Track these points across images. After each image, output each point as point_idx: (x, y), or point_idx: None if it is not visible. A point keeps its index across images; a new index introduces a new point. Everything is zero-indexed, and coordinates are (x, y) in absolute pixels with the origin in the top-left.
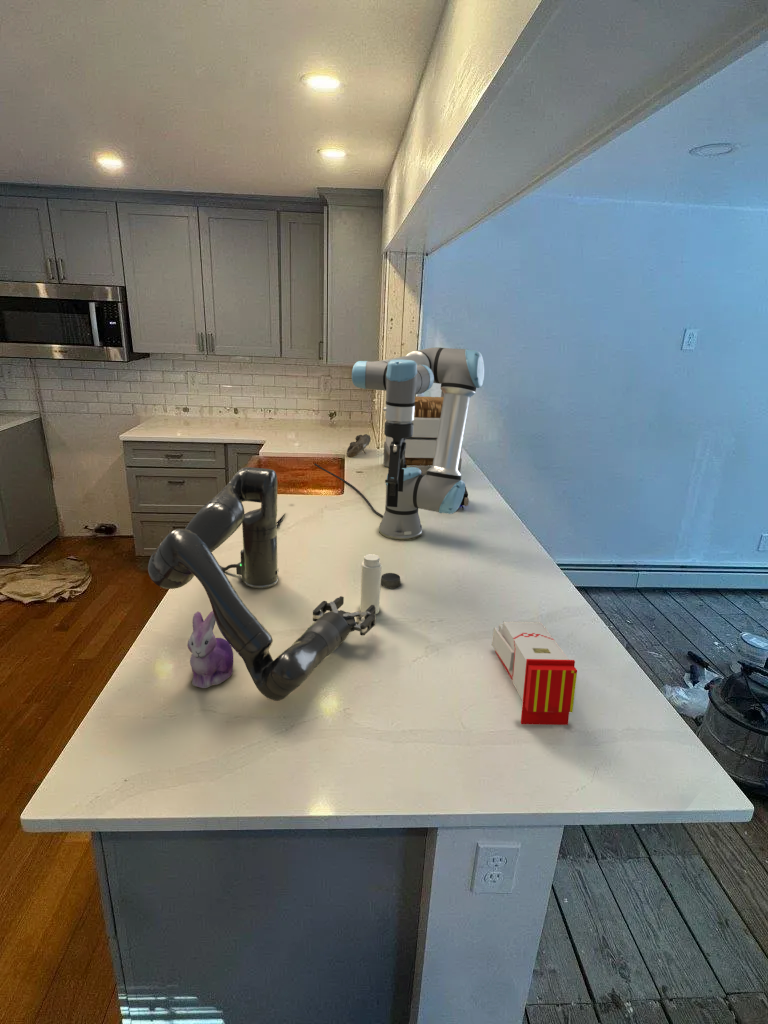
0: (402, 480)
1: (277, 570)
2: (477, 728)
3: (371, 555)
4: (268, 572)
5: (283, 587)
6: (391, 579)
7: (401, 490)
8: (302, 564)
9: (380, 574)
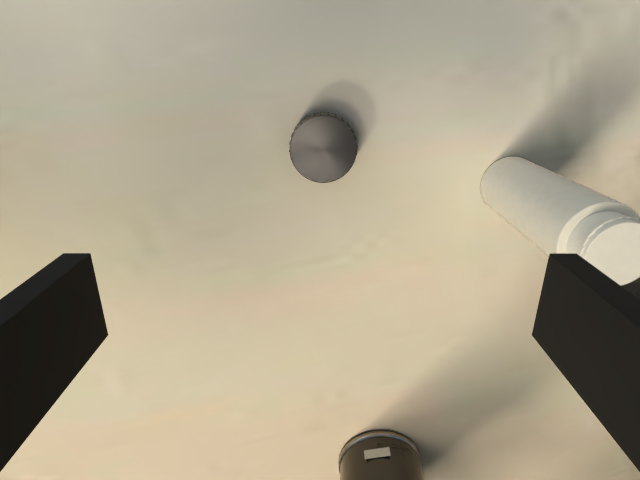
0: (15, 327)
1: (374, 455)
2: None
3: (601, 259)
4: (416, 474)
5: (401, 411)
6: (341, 145)
7: (85, 270)
8: (258, 403)
9: (591, 190)
